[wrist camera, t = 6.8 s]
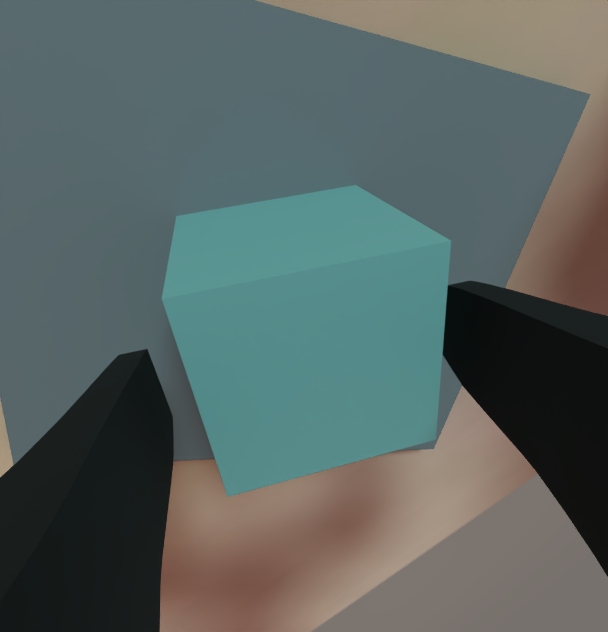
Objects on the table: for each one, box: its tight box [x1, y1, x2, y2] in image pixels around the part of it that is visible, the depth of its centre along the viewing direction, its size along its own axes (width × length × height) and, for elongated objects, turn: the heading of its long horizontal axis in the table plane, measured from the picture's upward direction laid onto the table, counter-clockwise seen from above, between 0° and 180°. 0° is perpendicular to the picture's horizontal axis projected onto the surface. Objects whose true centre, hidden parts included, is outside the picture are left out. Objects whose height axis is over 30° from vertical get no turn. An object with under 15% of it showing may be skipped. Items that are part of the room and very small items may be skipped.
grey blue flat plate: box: [0, 0, 590, 464], centre depth 13 cm, size 16×14×1 cm
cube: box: [162, 185, 451, 496], centre depth 10 cm, size 5×5×5 cm
